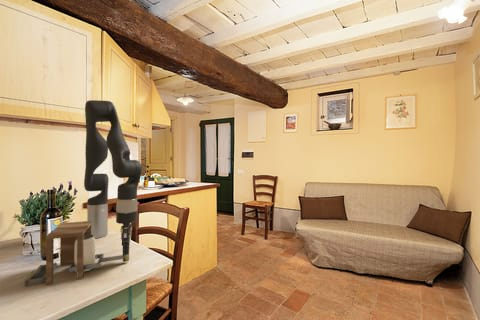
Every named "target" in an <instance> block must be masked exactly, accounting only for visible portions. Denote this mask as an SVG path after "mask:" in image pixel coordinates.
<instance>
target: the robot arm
mask: <svg viewBox="0 0 480 320" xmlns="http://www.w3.org/2000/svg"><path fill="white" fill-rule="evenodd" d="M84 105H85V107H84V116H85V117H84V118H85V130H86V131H85V134H86V135H85V153H84V154H85V170H84V177H83V178H84V179H83V180H84V181H83V186H84V187H83V188H84V190H85V191H86V192H100V193H98V194H96V195H94V196H92V197H89V198H87V205H86V206H87V208H86V209H87V213H86V215H87V217H86V219H87V220H86V221H92V235H94V238H95V239H100V238H104V237H106V236H107V235H108V227H109V226H108V225H109V224H108V223H109V221H108V220H109V219H108V217H109V215H108V211H109V210H108V209H109V207H108V205H109V204H108V203H109V198H108V194H109V193H108V192H109V176H108V174H107V173H95V171H96V170H97V169H98V168H99V167H100V166H101V165H103V163H104V162H105V161H106V160H107V159H108V155H109V154H108V153H110V155H111V164H112V166H111V167H112V173H113V174H114V175H115V177H117V178H119V179H126V178H127V180H126V182H123V183H121V184H119V185H118V186H117V195H116V196H117V199H116V204H115V205H116V209H115V211H116V213H115V215H116V217H115V222H116V223H117V224H119V225H120V224H121V226H120V239H121V246H122V255H128V254H129V255H130V247H131V246H130V245H131V244H130V243H131V238H132V231H133V225H132V224H131V223H135V222H137V221H138V198H137V197H138V186H139V185H140V184H139V183H140V179H141V177H142V174H143V165H142V164H141V162H140V161H139V160H137V159H128V158H129V157H130V156H131V149H130V148H129V146H128V144H127V143H128V142H127V141H126V140H125V137H124V134H123V131H122V127H121V122H120V119H119V115H118V112H117V109H116V106H115V104H114V102H112V101H110V100H99V99H98V100H96V99H95V100H93V99H91V100H87V101H86V102H85V104H84ZM105 122H106V123H107V122H109V123H110V128H109V131H108V133H107V137H106V139H105V138H104V136H103V135H102V134H101V133H100V131H99V130H98V129H97V123H105ZM124 241H127V242H124Z"/></svg>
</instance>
